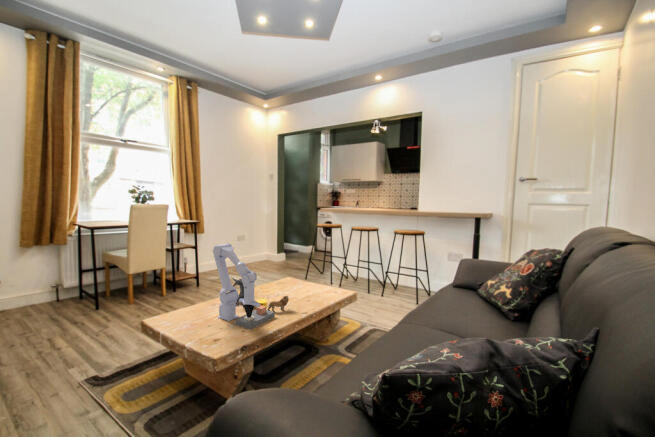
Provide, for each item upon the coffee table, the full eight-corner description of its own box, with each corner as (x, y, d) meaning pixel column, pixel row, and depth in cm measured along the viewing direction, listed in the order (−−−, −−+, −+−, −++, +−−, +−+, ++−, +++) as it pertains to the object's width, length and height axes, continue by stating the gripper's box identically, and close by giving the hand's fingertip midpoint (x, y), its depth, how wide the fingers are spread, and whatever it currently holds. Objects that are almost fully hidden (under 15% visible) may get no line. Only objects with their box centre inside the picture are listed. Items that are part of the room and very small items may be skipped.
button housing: (235, 324, 171) (234, 319, 171) (259, 312, 188) (259, 308, 188) (250, 329, 165) (250, 324, 165) (274, 317, 182) (274, 312, 182)
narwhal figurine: (255, 305, 202) (255, 278, 200) (231, 307, 196) (231, 280, 194) (252, 297, 215) (252, 272, 213) (229, 300, 209) (229, 274, 208)
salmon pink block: (256, 314, 180) (256, 307, 180) (261, 311, 184) (261, 305, 183) (261, 315, 178) (261, 308, 178) (266, 313, 182) (266, 306, 181)
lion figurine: (286, 307, 198) (286, 294, 197) (290, 310, 194) (290, 296, 193) (265, 311, 191) (265, 297, 190) (268, 314, 186) (268, 300, 185)
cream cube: (244, 324, 172) (244, 317, 171) (249, 321, 175) (249, 314, 175) (249, 325, 170) (249, 318, 169) (254, 323, 173) (254, 316, 173)
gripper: (234, 293, 171) (234, 316, 172) (253, 298, 164) (253, 322, 165) (243, 289, 177) (243, 312, 178) (262, 294, 170) (262, 317, 171)
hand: (249, 316), depth 172 cm, fingers closed, pressing on cream cube
